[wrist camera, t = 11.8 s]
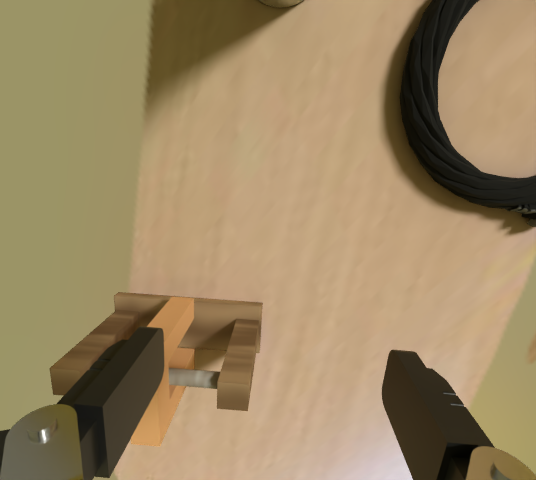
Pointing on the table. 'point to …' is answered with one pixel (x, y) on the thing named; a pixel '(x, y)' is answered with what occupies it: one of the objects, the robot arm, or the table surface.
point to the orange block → (167, 371)
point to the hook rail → (197, 336)
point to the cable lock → (430, 126)
